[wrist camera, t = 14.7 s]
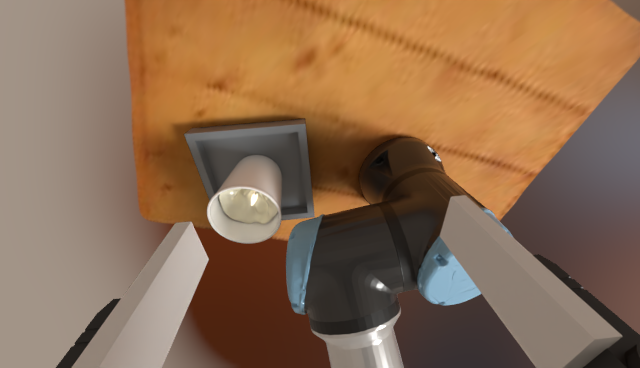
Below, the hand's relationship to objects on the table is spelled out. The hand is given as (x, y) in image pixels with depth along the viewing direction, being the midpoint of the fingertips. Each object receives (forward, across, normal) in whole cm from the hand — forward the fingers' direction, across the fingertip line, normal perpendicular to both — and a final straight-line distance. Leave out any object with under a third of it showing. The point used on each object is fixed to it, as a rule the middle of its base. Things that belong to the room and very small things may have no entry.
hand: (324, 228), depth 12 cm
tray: (+29, +10, +11) cm, 32 cm away
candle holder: (+28, +10, +11) cm, 32 cm away
